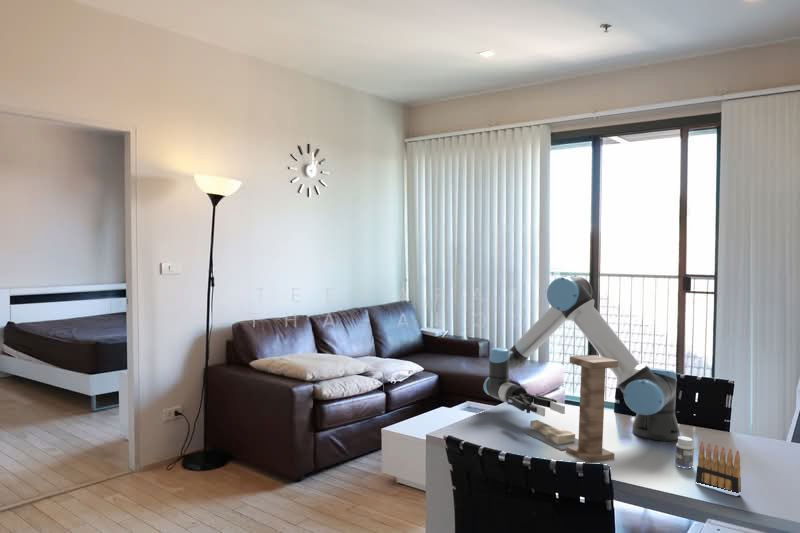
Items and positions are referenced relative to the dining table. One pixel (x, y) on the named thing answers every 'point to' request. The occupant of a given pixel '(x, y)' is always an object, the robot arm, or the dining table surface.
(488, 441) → the dining table surface
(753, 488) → the dining table surface
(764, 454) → the dining table surface
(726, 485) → the ammunition clip
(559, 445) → the mat
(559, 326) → the robot arm
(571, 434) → the paddle
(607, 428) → the dining table surface
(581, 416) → the stand
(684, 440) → the pill bottle
